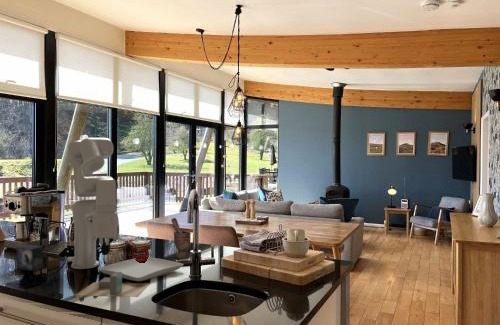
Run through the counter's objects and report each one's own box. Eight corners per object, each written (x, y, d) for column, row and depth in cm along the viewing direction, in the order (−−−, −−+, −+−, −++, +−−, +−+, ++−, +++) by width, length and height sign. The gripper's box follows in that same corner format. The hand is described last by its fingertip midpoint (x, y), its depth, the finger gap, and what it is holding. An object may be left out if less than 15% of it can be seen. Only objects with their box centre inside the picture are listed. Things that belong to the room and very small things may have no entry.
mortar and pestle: (165, 258, 214) (165, 219, 214) (173, 254, 222) (173, 217, 222) (186, 259, 211) (186, 220, 210) (193, 255, 219) (193, 218, 219)
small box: (15, 269, 194) (15, 246, 193) (27, 265, 200) (27, 244, 200) (32, 271, 190) (31, 248, 190) (43, 268, 196) (43, 245, 196)
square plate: (185, 271, 190) (185, 262, 190) (138, 286, 167) (137, 277, 167) (144, 262, 205) (144, 254, 205) (96, 275, 183) (96, 267, 182)
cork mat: (75, 296, 156) (75, 295, 156) (93, 283, 172) (93, 282, 172) (137, 298, 154) (137, 296, 154) (150, 284, 170) (150, 283, 170)
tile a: (98, 281, 164) (115, 282, 164) (104, 277, 170) (121, 277, 170) (98, 288, 164) (115, 288, 164) (104, 283, 170) (121, 283, 170)
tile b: (110, 294, 156) (109, 276, 156) (116, 289, 162) (116, 271, 162) (116, 294, 156) (116, 276, 156) (122, 289, 162) (122, 271, 162)
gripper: (83, 210, 164) (83, 256, 164) (120, 211, 163) (120, 257, 164) (91, 207, 171) (91, 251, 172) (127, 208, 170) (127, 252, 171)
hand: (105, 254), depth 168 cm, fingers closed
